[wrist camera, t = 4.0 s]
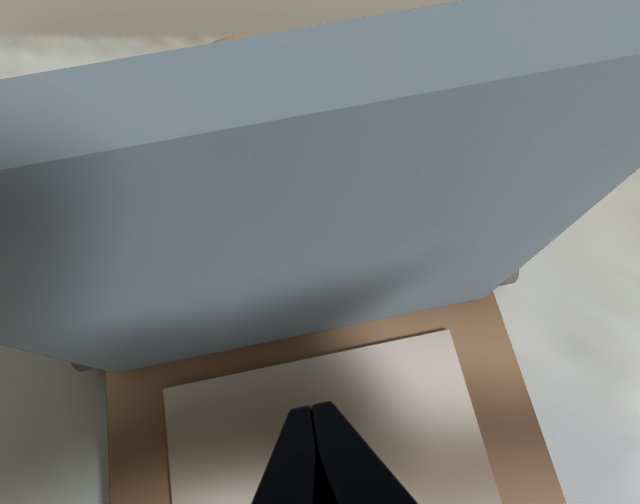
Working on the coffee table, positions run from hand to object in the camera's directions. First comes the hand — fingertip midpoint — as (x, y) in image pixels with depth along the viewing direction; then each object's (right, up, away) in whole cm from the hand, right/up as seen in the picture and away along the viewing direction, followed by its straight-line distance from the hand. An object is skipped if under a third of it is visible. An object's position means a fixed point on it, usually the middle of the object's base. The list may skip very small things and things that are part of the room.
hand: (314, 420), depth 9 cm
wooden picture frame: (0, -3, +7) cm, 8 cm away
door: (-1, +1, +8) cm, 8 cm away
